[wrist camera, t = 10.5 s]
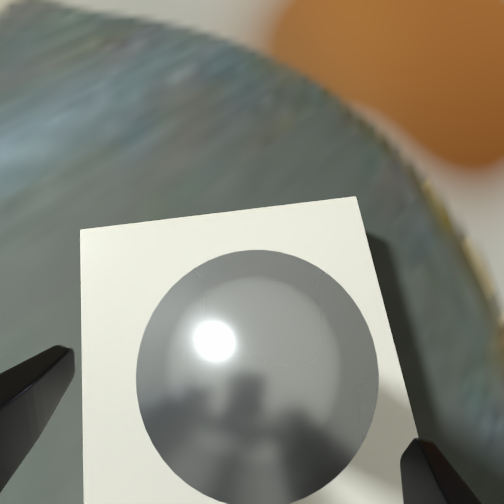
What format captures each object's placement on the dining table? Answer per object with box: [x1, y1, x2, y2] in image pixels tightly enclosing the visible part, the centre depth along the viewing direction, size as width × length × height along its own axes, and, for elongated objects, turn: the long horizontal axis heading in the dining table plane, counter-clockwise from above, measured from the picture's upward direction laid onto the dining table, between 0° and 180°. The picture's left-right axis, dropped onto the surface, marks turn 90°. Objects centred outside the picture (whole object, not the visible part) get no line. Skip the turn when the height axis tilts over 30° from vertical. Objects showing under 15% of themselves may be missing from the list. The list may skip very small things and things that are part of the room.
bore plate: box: [80, 196, 419, 504], centre depth 17 cm, size 14×14×3 cm
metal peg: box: [136, 250, 379, 504], centre depth 12 cm, size 4×4×13 cm
